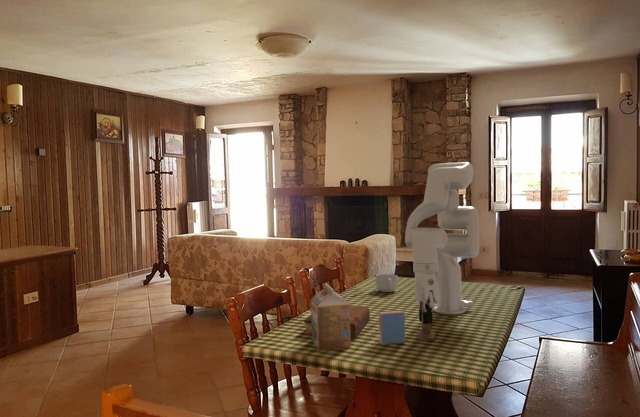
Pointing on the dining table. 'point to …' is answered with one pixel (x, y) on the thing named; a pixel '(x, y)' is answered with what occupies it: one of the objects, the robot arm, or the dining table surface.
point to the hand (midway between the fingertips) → (425, 321)
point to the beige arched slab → (357, 320)
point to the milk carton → (330, 320)
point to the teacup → (386, 282)
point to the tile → (392, 327)
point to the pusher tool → (425, 330)
